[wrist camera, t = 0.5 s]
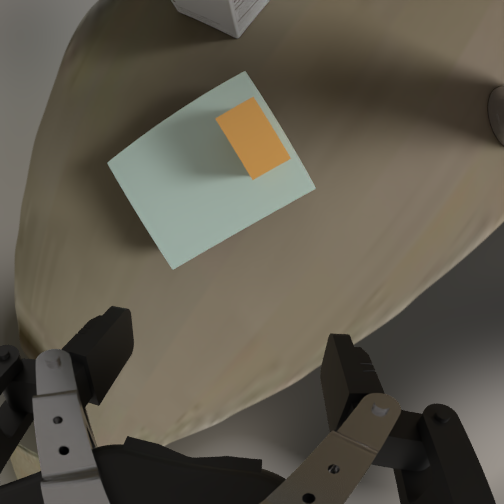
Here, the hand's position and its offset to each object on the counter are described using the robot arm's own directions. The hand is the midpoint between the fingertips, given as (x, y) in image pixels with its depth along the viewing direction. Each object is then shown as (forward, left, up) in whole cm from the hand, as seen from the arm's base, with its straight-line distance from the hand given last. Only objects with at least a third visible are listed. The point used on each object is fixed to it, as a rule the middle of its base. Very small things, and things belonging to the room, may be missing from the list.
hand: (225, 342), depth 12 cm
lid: (0, -7, -19) cm, 20 cm away
